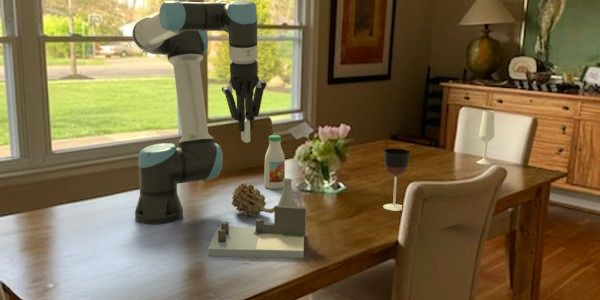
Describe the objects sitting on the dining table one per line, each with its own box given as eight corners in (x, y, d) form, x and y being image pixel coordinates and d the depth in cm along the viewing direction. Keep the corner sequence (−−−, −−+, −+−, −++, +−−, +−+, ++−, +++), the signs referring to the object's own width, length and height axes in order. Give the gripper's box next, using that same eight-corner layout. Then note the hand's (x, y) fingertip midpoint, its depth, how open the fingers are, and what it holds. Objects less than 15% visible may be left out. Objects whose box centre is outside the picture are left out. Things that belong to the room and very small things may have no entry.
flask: (295, 211, 201) (296, 183, 199) (274, 209, 203) (274, 181, 201) (300, 205, 208) (300, 177, 206) (279, 203, 210) (280, 176, 208)
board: (208, 255, 163) (207, 238, 162) (218, 232, 180) (217, 216, 179) (304, 258, 162) (304, 240, 161) (304, 234, 180) (305, 218, 179)
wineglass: (386, 202, 213) (389, 147, 209) (409, 206, 209) (413, 150, 205) (377, 207, 207) (380, 151, 202) (401, 212, 202) (404, 155, 198)
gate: (254, 232, 174) (254, 206, 172) (256, 229, 176) (256, 203, 174) (304, 236, 172) (305, 209, 170) (305, 233, 174) (306, 206, 172)
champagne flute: (475, 163, 274) (480, 111, 269) (477, 160, 280) (481, 109, 275) (490, 165, 271) (495, 112, 266) (492, 161, 277) (497, 110, 272)
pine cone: (223, 212, 199) (222, 183, 197) (245, 206, 206) (245, 178, 204) (266, 229, 184) (267, 198, 182) (289, 222, 191) (290, 192, 188)
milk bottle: (261, 188, 227) (262, 137, 223) (267, 183, 235) (268, 133, 230) (281, 190, 225) (282, 138, 221) (286, 185, 233) (287, 134, 228)
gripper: (228, 67, 154) (231, 150, 164) (271, 60, 161) (272, 140, 171) (215, 60, 160) (219, 141, 170) (257, 53, 167) (259, 131, 176)
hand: (245, 140), depth 170 cm, fingers closed
